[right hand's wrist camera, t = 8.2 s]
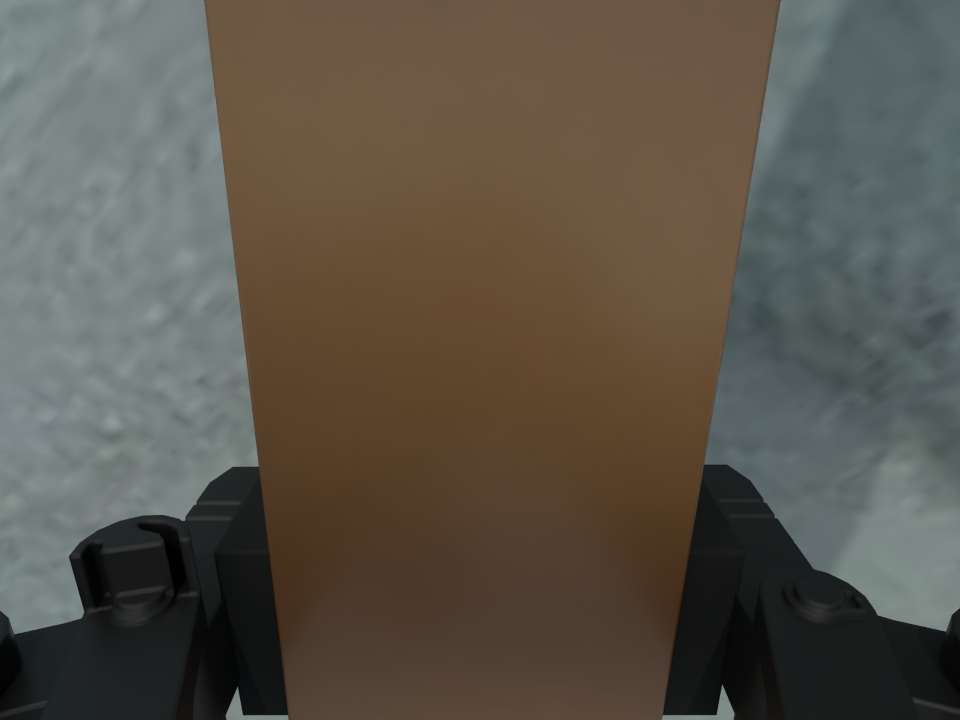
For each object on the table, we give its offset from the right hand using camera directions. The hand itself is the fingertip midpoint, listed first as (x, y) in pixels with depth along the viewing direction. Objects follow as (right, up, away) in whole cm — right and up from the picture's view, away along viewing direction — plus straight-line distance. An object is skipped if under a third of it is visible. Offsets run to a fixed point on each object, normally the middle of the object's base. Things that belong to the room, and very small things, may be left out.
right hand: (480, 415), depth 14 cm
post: (0, +25, -9) cm, 27 cm away
